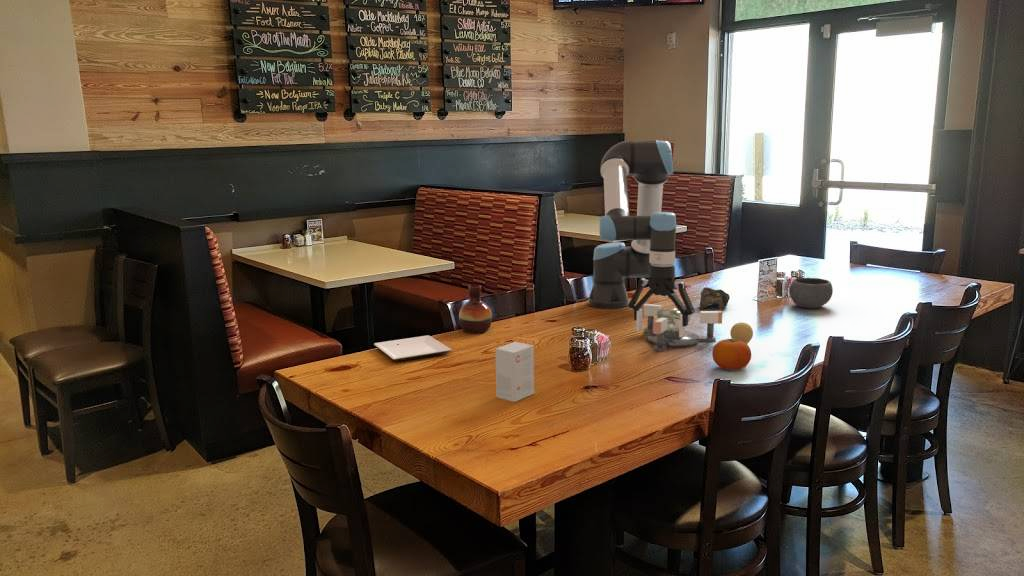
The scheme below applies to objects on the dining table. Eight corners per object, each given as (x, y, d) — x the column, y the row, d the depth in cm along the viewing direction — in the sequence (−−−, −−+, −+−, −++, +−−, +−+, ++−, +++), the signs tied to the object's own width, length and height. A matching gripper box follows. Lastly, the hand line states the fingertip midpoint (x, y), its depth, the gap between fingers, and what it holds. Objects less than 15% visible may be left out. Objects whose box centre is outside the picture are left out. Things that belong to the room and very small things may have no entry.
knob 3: (700, 337, 245) (701, 312, 243) (699, 335, 247) (700, 310, 245) (721, 337, 245) (722, 312, 243) (719, 335, 247) (720, 310, 245)
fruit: (744, 376, 211) (745, 348, 209) (706, 370, 216) (707, 342, 215) (754, 365, 220) (756, 338, 218) (718, 360, 225) (719, 333, 224)
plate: (393, 365, 226) (393, 358, 226) (373, 349, 242) (373, 343, 242) (452, 355, 235) (452, 349, 234) (429, 341, 251) (429, 334, 250)
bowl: (787, 310, 284) (789, 283, 281) (789, 301, 297) (791, 275, 295) (831, 313, 278) (833, 285, 276) (831, 304, 292) (833, 278, 289)
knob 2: (660, 342, 240) (661, 317, 238) (666, 343, 239) (667, 318, 237) (652, 347, 234) (653, 321, 233) (659, 348, 233) (659, 322, 232)
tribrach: (621, 345, 242) (621, 313, 240) (647, 329, 259) (647, 300, 257) (696, 356, 229) (697, 322, 227) (718, 339, 247) (719, 308, 245)
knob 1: (660, 328, 256) (661, 304, 254) (659, 330, 254) (659, 306, 252) (641, 326, 258) (642, 303, 257) (639, 328, 257) (640, 304, 255)
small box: (515, 389, 204) (515, 341, 201) (534, 394, 200) (534, 345, 197) (495, 397, 198) (494, 348, 195) (514, 402, 194) (513, 352, 191)
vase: (497, 328, 264) (496, 283, 261) (483, 336, 255) (481, 290, 251) (468, 325, 269) (467, 281, 266) (453, 333, 259) (451, 287, 256)
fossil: (727, 302, 294) (730, 282, 287) (729, 319, 287) (732, 298, 281) (697, 301, 295) (700, 281, 289) (698, 317, 288) (701, 297, 282)
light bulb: (752, 353, 231) (754, 320, 229) (751, 359, 226) (753, 326, 223) (730, 351, 233) (731, 319, 231) (728, 357, 228) (730, 324, 226)
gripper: (618, 263, 235) (617, 331, 239) (698, 269, 222) (696, 341, 226) (628, 259, 241) (627, 325, 245) (707, 265, 228) (704, 335, 232)
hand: (660, 333), depth 236 cm, fingers open, 13 cm apart
